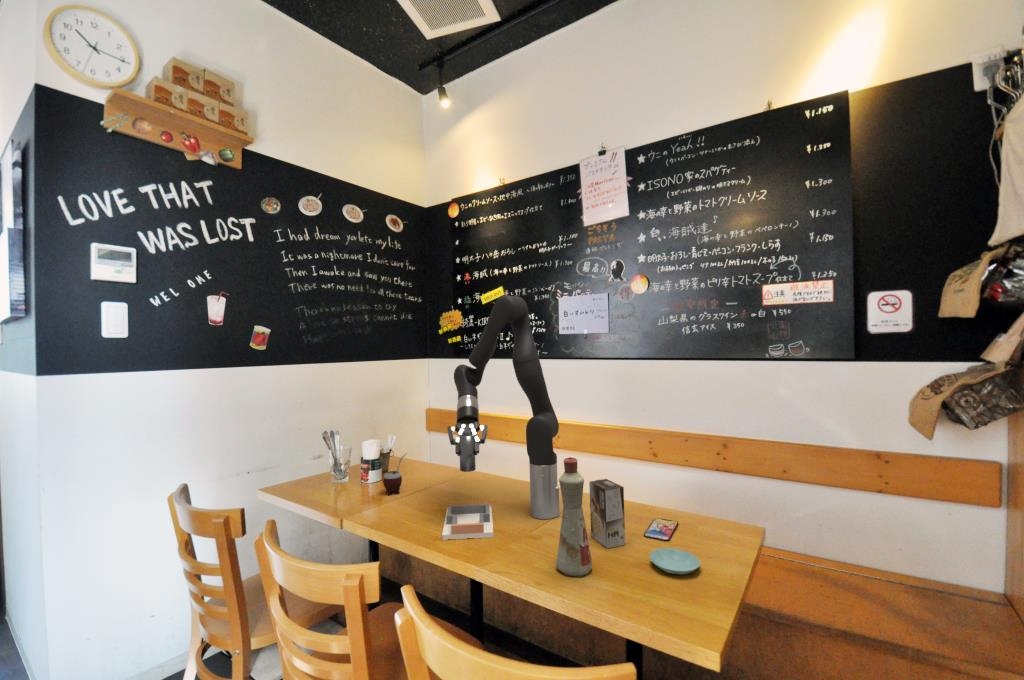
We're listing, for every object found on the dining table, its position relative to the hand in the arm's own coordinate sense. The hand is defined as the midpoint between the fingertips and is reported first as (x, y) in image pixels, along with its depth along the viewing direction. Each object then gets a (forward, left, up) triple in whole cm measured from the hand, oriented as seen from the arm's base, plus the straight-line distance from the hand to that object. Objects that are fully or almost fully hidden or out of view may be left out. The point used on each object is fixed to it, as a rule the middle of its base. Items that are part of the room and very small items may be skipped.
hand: (467, 454), depth 141 cm
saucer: (-52, +35, -22) cm, 66 cm away
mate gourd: (+30, -34, -22) cm, 51 cm away
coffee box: (-40, +18, -22) cm, 49 cm away
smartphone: (-58, +13, -23) cm, 64 cm away
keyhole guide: (0, +1, -22) cm, 22 cm away
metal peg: (0, -1, -5) cm, 5 cm away
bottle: (-27, +33, -22) cm, 48 cm away
